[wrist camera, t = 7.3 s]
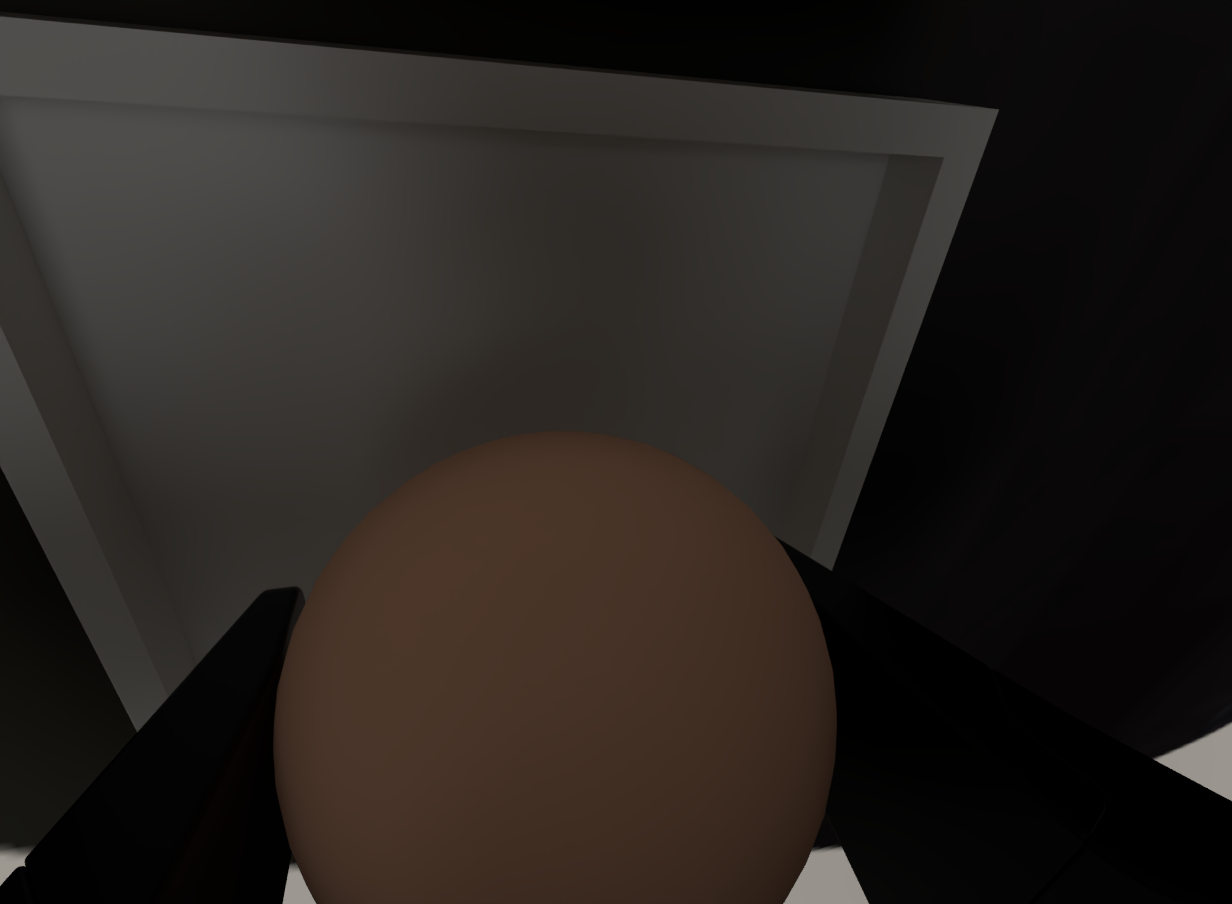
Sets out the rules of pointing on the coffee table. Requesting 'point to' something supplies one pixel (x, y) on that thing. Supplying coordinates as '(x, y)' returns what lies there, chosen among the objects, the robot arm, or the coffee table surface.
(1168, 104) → the coffee table surface
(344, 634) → the ball
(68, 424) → the coaster tray
